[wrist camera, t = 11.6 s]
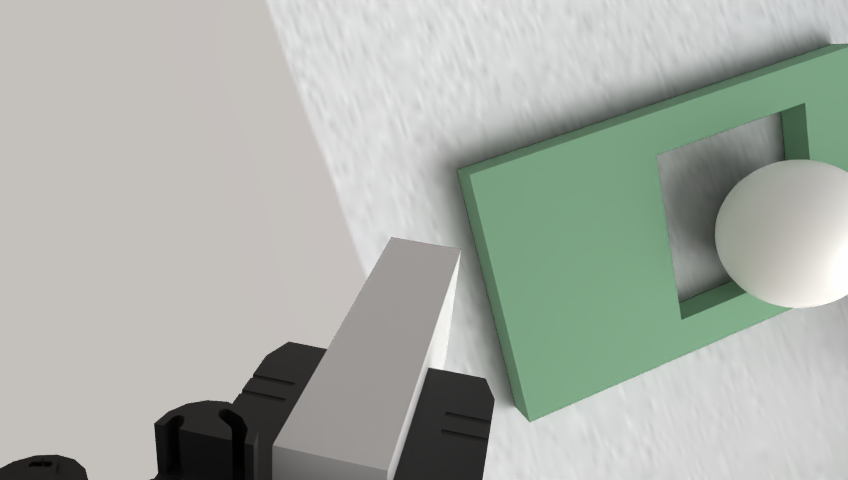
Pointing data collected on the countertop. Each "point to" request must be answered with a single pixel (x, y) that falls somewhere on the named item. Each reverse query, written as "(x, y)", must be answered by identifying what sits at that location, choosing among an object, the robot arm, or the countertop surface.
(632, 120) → the green
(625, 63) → the countertop surface
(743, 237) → the ball
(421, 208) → the countertop surface
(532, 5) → the countertop surface
